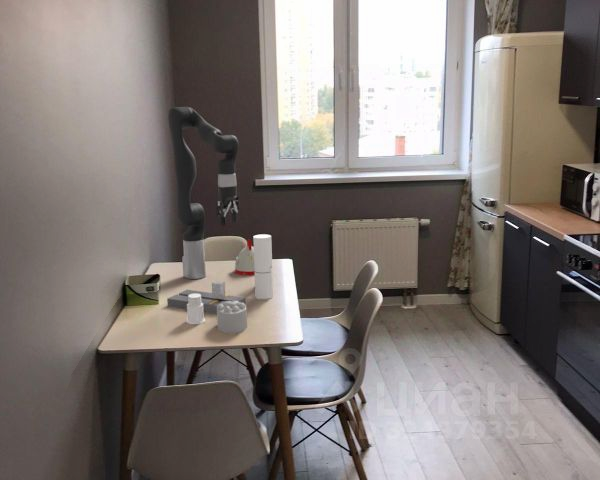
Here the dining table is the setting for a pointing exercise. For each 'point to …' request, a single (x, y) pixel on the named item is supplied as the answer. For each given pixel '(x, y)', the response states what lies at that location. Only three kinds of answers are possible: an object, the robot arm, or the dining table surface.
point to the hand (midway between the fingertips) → (229, 223)
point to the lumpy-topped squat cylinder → (232, 317)
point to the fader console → (206, 299)
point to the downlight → (195, 309)
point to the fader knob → (218, 290)
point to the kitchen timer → (245, 261)
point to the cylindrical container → (263, 266)
